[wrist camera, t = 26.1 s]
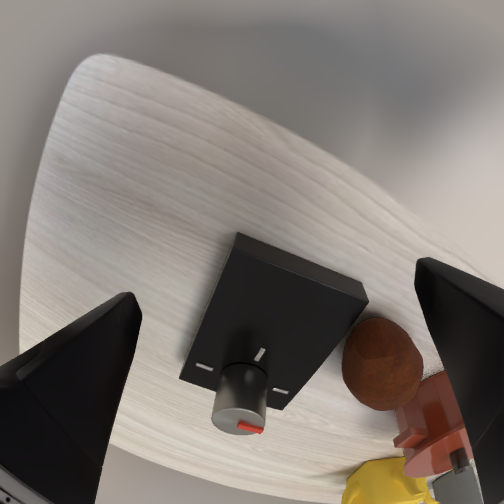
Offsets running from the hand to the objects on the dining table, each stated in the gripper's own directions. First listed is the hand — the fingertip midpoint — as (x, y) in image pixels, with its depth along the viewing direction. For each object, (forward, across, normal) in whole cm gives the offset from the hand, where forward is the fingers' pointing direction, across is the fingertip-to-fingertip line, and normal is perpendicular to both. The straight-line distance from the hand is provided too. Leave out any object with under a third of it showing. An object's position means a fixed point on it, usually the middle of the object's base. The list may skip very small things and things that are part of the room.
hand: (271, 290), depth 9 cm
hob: (+12, +2, +11) cm, 17 cm away
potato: (+12, -7, +15) cm, 21 cm away
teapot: (+12, -12, +46) cm, 50 cm away
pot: (+12, -16, +27) cm, 33 cm away
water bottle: (+12, -31, +63) cm, 71 cm away
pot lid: (+4, -16, +27) cm, 32 cm away
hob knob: (+9, +5, +15) cm, 18 cm away
